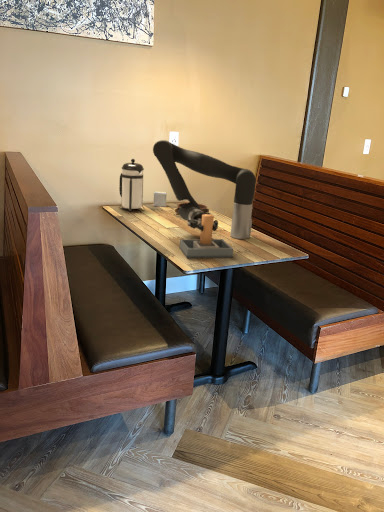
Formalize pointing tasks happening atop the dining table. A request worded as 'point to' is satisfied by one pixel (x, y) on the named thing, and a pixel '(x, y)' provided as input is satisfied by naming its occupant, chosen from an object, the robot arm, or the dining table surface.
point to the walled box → (205, 249)
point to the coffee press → (131, 185)
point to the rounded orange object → (206, 229)
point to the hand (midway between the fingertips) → (208, 228)
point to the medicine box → (160, 199)
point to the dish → (202, 207)
